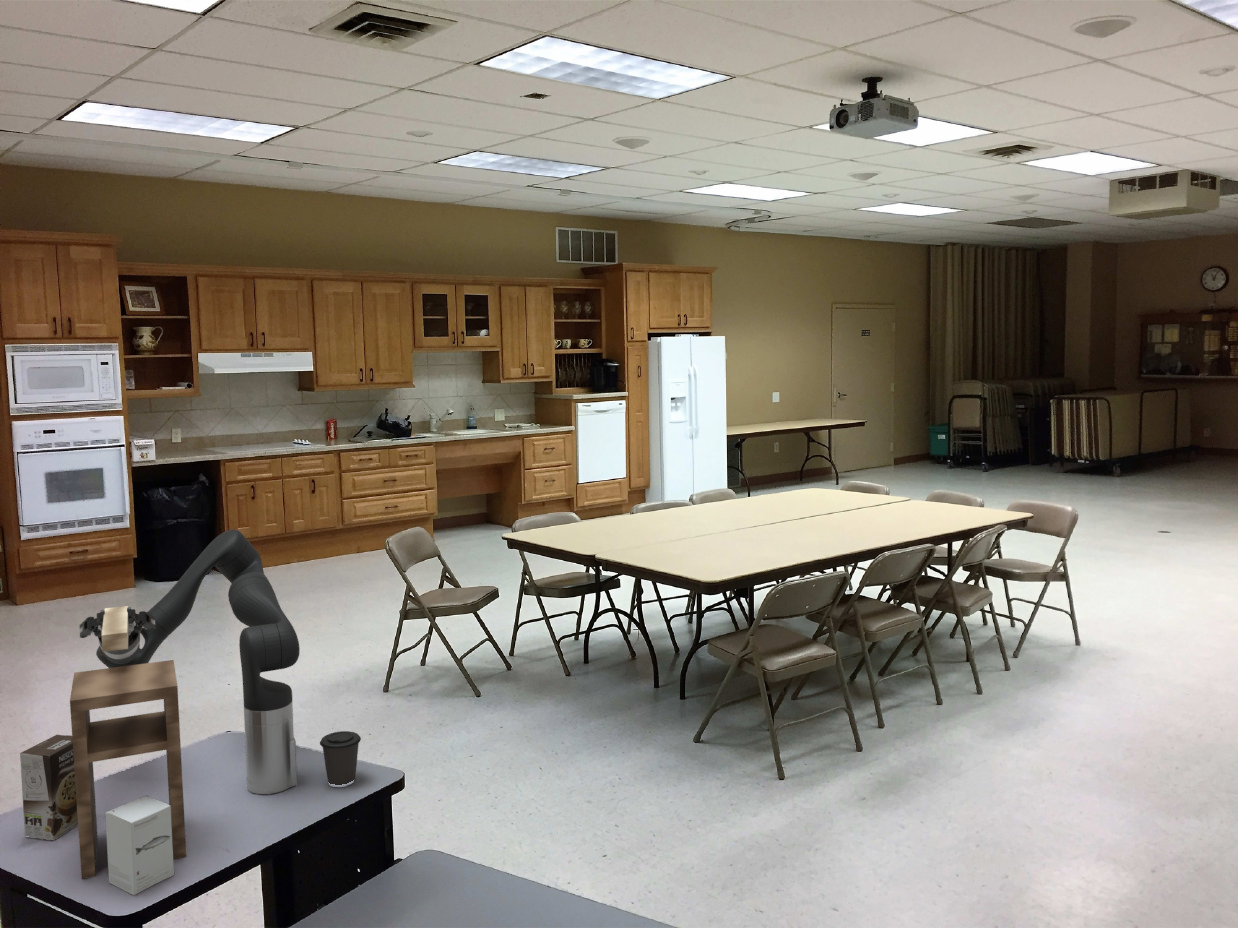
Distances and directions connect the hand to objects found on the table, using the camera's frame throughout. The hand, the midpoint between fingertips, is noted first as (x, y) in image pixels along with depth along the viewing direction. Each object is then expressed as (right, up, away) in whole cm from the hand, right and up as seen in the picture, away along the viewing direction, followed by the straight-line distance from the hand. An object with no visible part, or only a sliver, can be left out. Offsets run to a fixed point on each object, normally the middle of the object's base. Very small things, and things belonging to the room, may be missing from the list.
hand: (115, 613), depth 183 cm
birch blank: (+2, -3, -4) cm, 6 cm away
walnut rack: (+10, -40, -12) cm, 42 cm away
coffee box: (-8, -39, -5) cm, 40 cm away
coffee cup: (+39, -37, +14) cm, 55 cm away
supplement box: (+16, -41, -22) cm, 49 cm away
